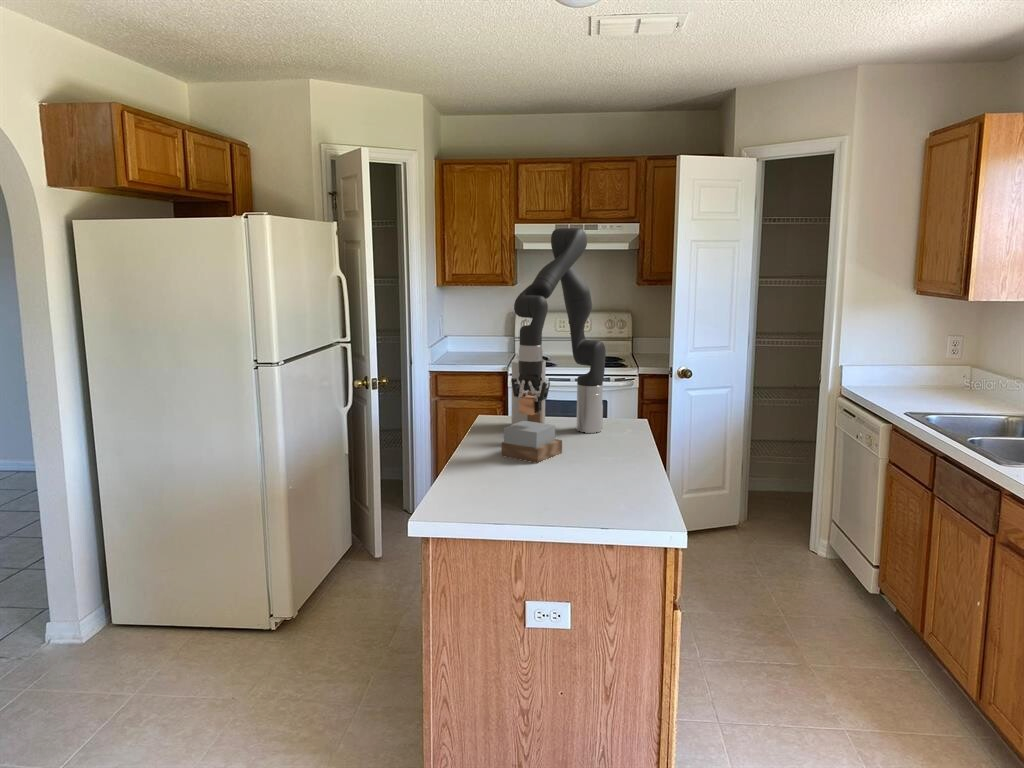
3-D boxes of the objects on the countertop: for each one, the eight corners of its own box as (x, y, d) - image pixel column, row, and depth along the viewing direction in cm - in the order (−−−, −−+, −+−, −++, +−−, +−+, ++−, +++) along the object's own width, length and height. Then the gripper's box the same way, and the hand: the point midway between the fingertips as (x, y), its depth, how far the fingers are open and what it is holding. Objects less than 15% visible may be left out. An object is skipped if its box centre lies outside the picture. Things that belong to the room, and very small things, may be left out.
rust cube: (528, 410, 239) (528, 395, 238) (540, 412, 236) (541, 397, 235) (519, 413, 235) (519, 397, 234) (531, 415, 232) (531, 399, 231)
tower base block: (526, 448, 248) (526, 433, 247) (561, 455, 240) (562, 440, 239) (501, 457, 237) (501, 442, 236) (537, 464, 229) (537, 449, 228)
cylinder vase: (550, 425, 278) (551, 360, 274) (534, 432, 268) (534, 364, 263) (522, 421, 285) (522, 357, 280) (505, 428, 274) (505, 361, 270)
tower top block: (523, 435, 245) (523, 420, 244) (555, 440, 239) (555, 425, 238) (503, 442, 235) (503, 427, 234) (536, 448, 229) (536, 432, 228)
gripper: (556, 359, 232) (555, 412, 234) (519, 355, 240) (519, 407, 243) (542, 362, 226) (541, 416, 229) (505, 358, 234) (505, 410, 237)
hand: (530, 411), depth 236 cm, fingers closed on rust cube, 5 cm apart
